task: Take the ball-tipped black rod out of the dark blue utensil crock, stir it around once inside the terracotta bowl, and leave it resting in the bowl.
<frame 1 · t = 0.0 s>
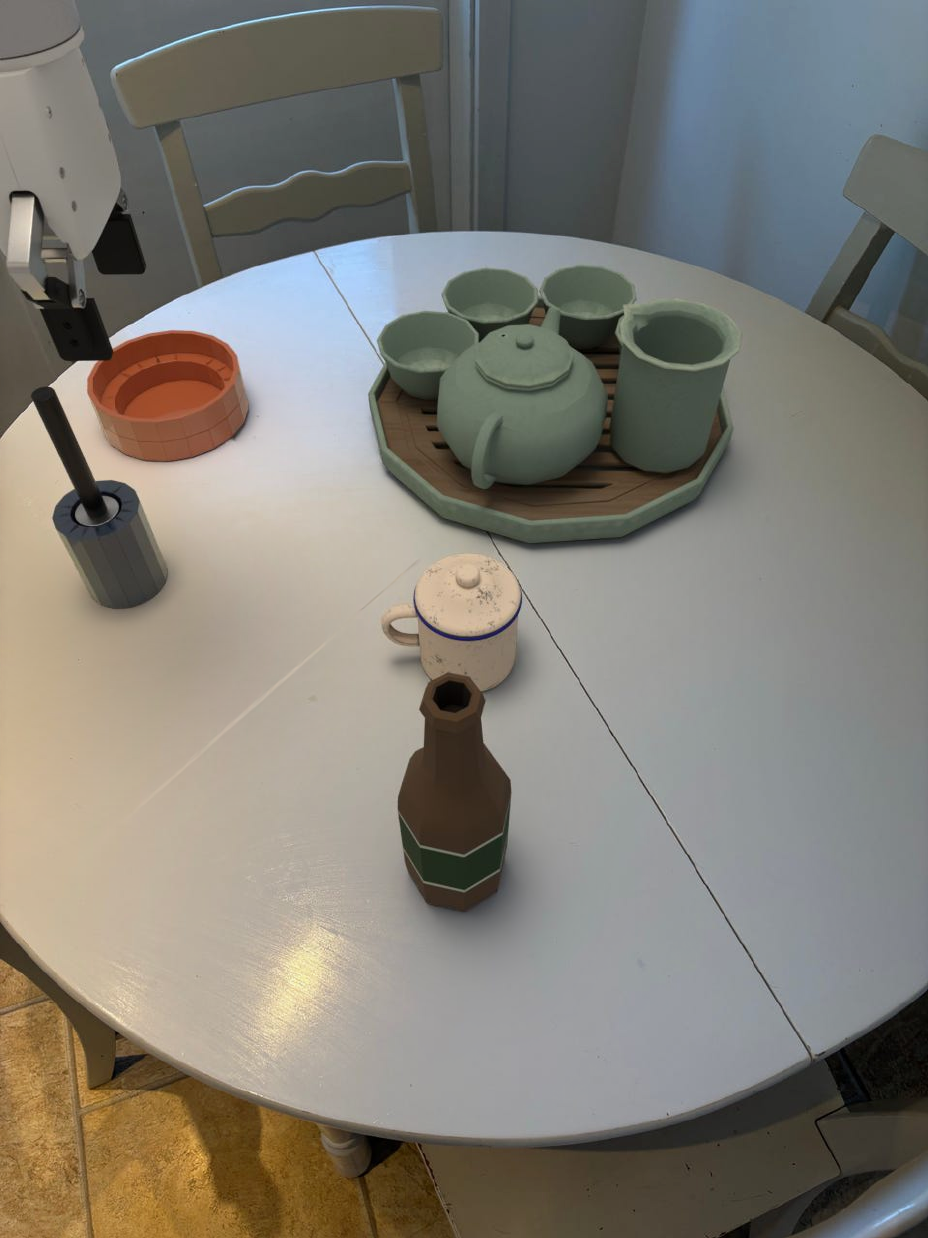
hand: (107, 312, 58), 32 cm above the table, tool pointing down, fingers open, 9 cm apart
tea set: (544, 422, 101), on the table
ball-tipped black rod: (128, 578, 86), resting on crock
beer bottle: (456, 866, 69), on the table
teacup with lid: (452, 657, 81), on the table
bowl: (177, 417, 102), on the table
crock: (130, 582, 86), on the table
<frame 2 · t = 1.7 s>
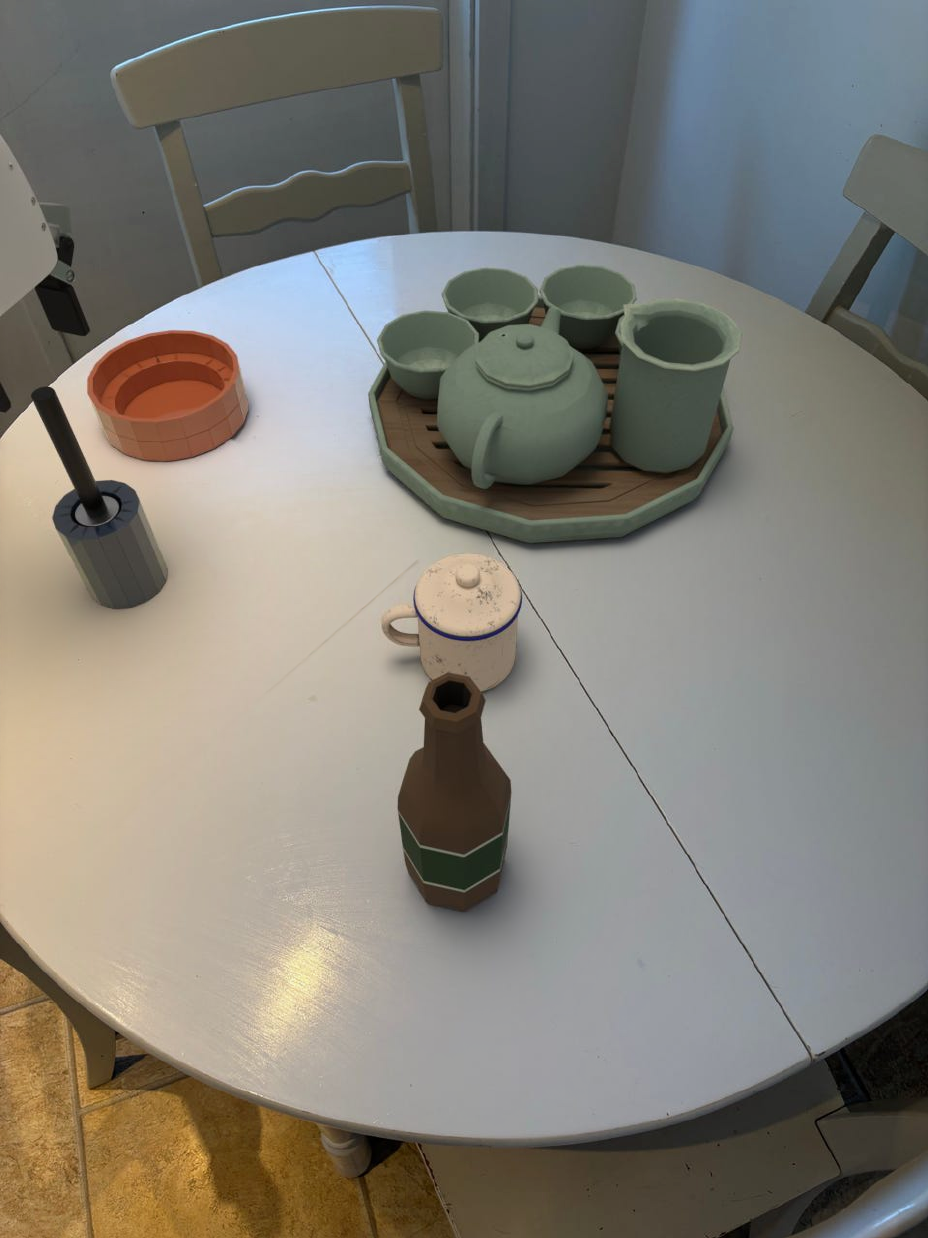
hand: (33, 367, 67), 25 cm above the table, tool pointing down, fingers open, 9 cm apart
nothing on the table moved.
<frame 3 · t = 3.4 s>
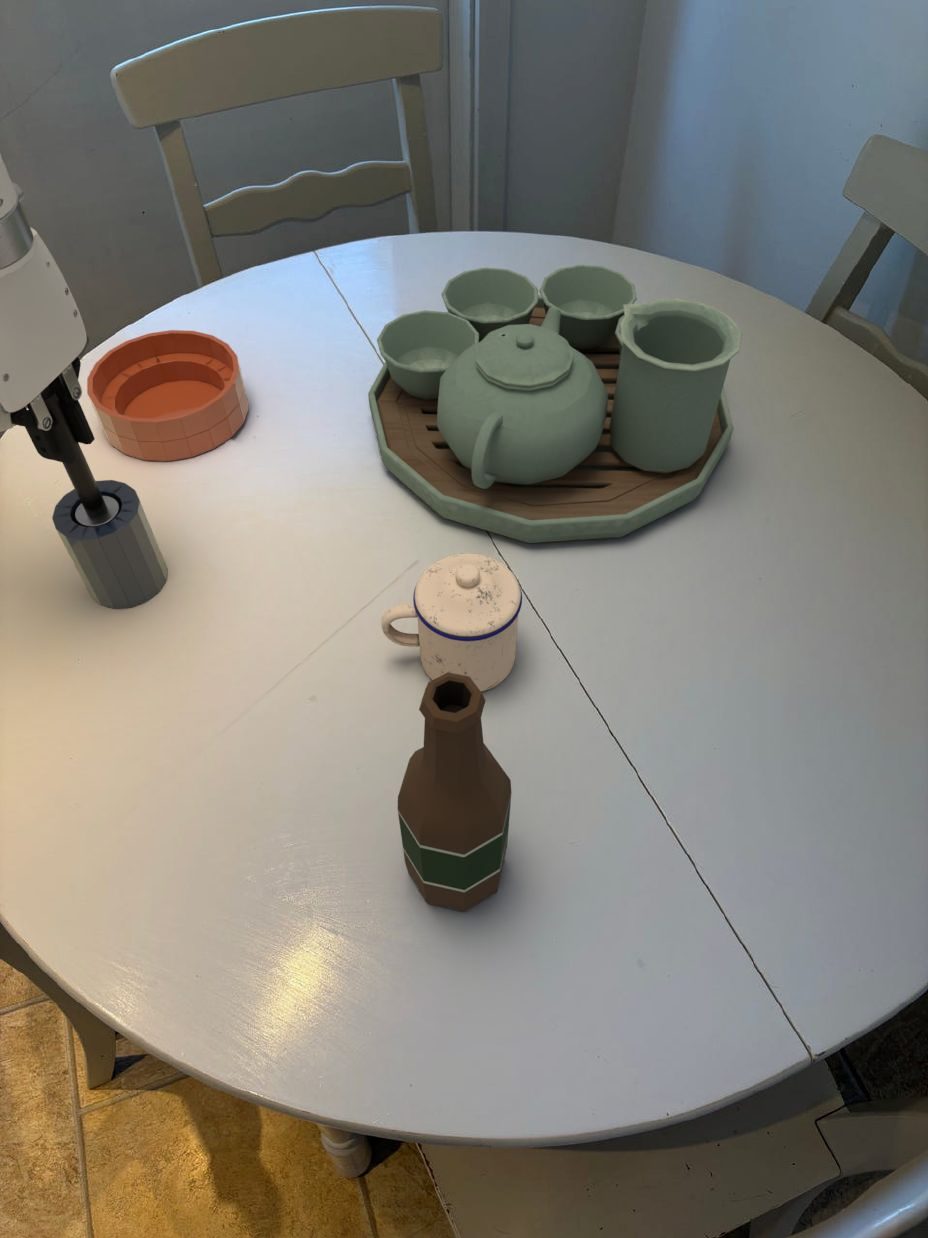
hand: (67, 447, 73), 17 cm above the table, tool pointing down, fingers closed on ball-tipped black rod
ball-tipped black rod: (128, 578, 86), resting on crock, touching gripper
everything else where it was.
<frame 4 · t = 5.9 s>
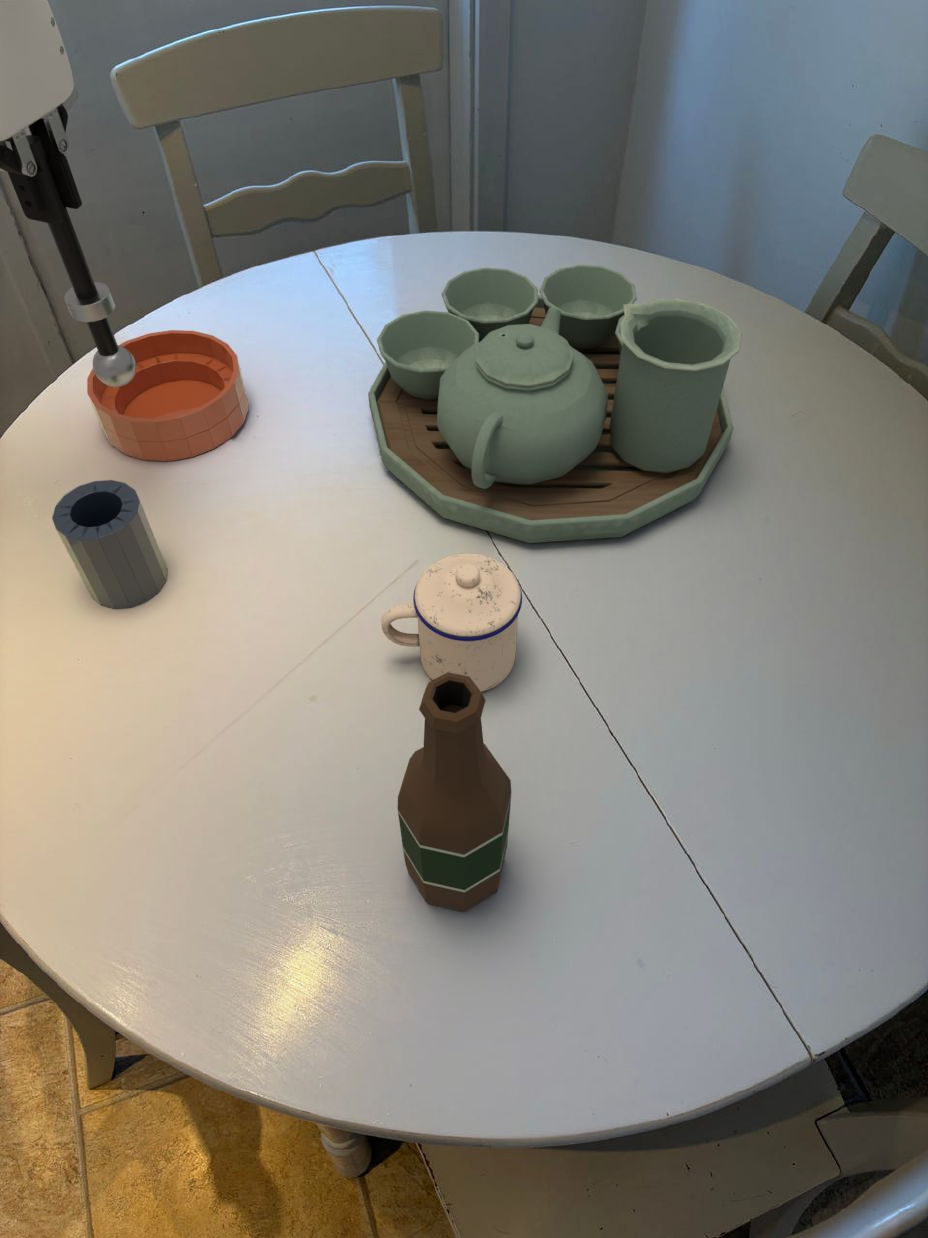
hand: (54, 210, 71), 30 cm above the table, tool pointing down, fingers closed on ball-tipped black rod
ball-tipped black rod: (121, 382, 84), point 13 cm above the table, touching gripper
everything else where it was.
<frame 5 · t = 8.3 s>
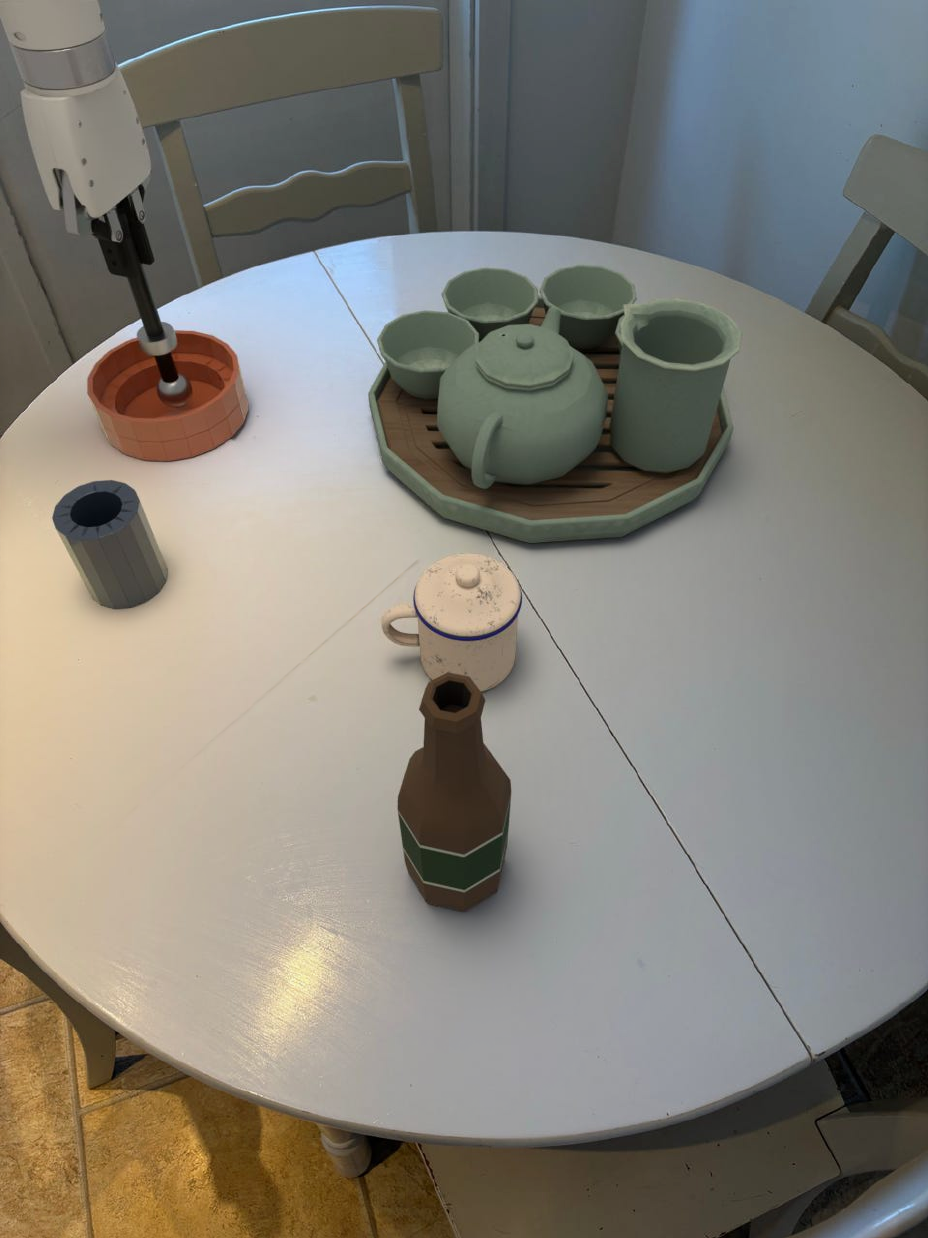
hand: (132, 266, 87), 19 cm above the table, tool pointing down, fingers closed on ball-tipped black rod
ball-tipped black rod: (179, 404, 100), point 2 cm above the table, touching gripper
everything else where it was.
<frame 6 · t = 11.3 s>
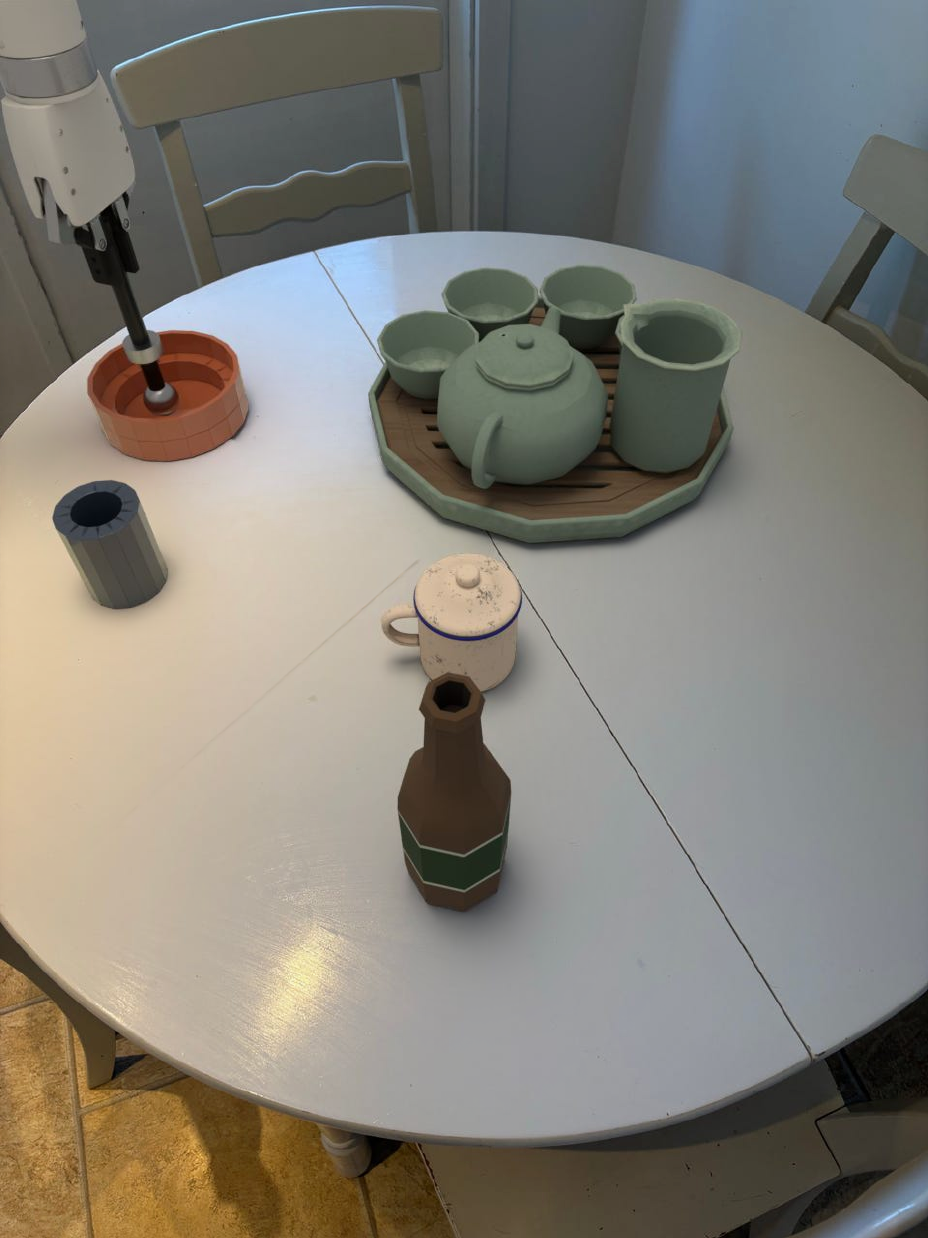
hand: (117, 275, 86), 19 cm above the table, tool pointing down, fingers closed on ball-tipped black rod
ball-tipped black rod: (166, 412, 99), point 2 cm above the table, touching gripper
everything else where it was.
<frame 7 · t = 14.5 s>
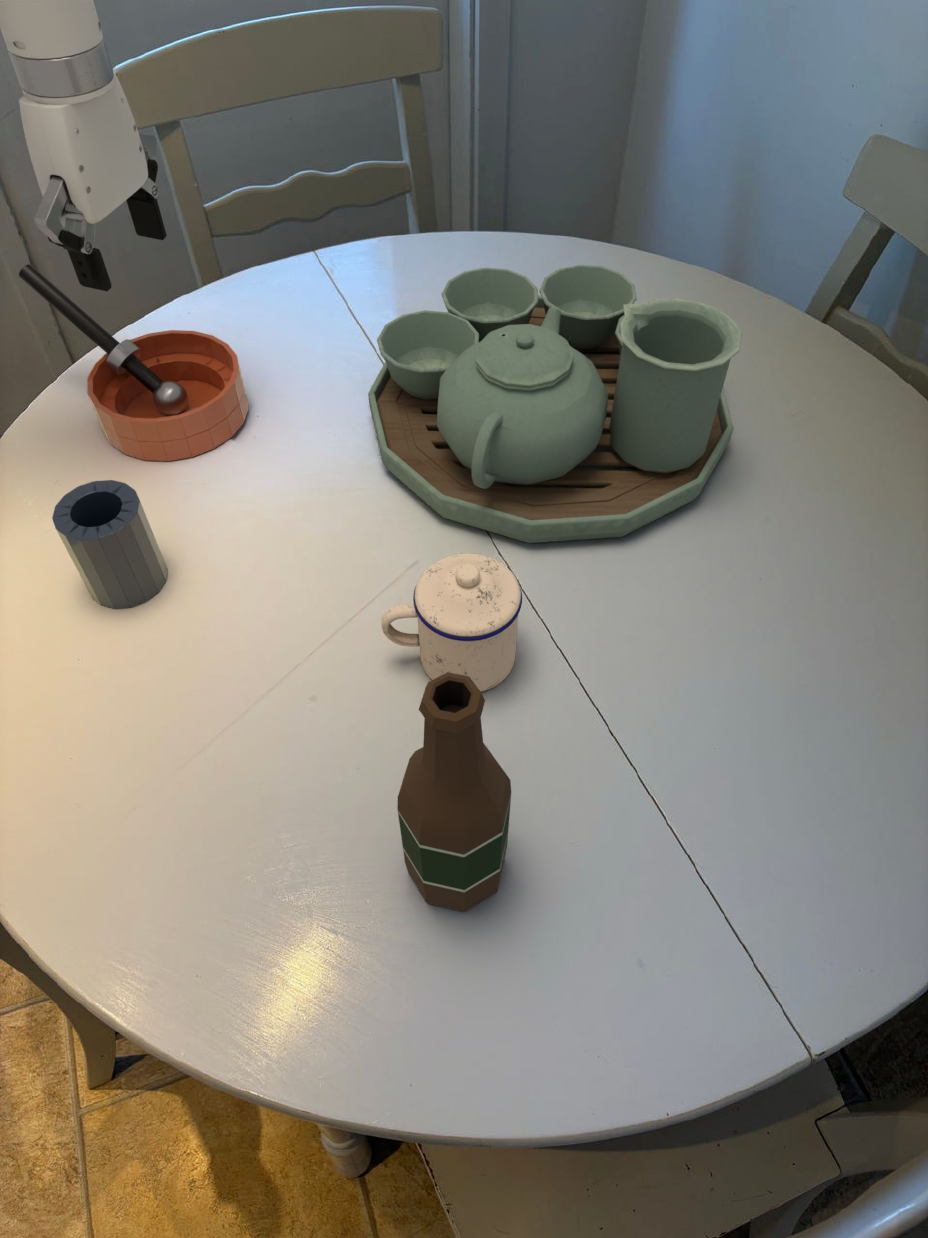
hand: (125, 260, 87), 19 cm above the table, tool pointing down, fingers open, 9 cm apart
ball-tipped black rod: (184, 409, 100), point 1 cm above the table, tilted 58°, touching bowl
everything else where it was.
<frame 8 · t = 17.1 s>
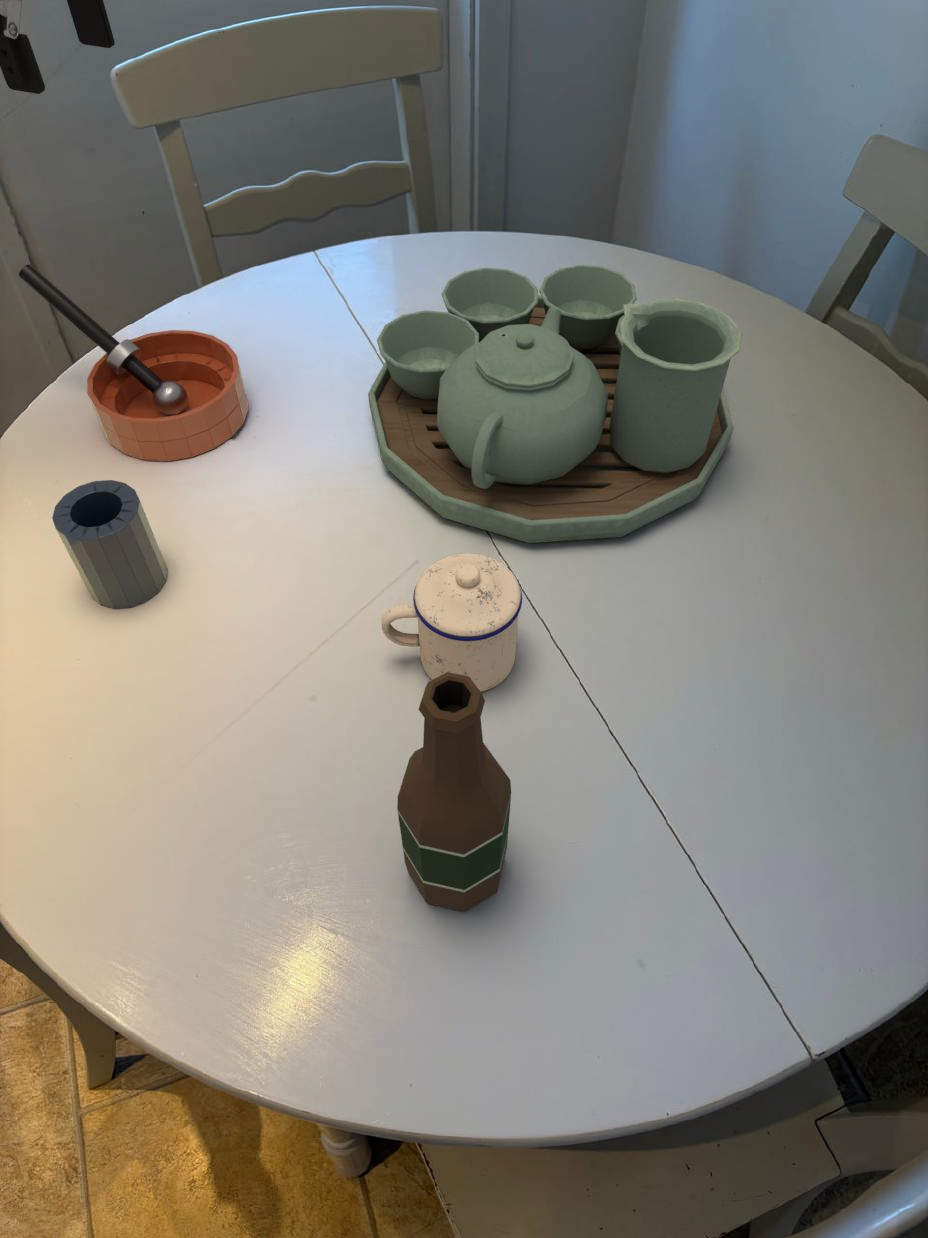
hand: (64, 66, 73), 36 cm above the table, tool pointing down, fingers open, 9 cm apart
nothing on the table moved.
at the end: ball-tipped black rod inside the target area in the bowl (1.3 cm from its centre), point 1.5 cm above the bowl's base; the gripper is holding nothing; ball-tipped black rod moved 24.3 cm from its start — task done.
